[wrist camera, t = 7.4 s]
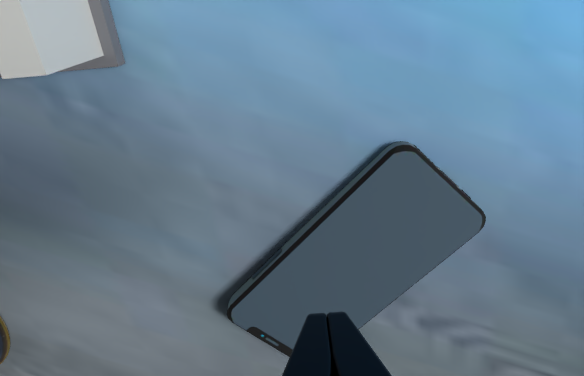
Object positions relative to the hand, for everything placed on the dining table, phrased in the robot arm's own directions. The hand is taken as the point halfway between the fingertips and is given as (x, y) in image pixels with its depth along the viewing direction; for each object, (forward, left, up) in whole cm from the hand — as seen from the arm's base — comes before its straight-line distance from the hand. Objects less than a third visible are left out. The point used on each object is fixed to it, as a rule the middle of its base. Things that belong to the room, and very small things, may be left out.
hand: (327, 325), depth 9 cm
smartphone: (-8, -2, -13) cm, 15 cm away
